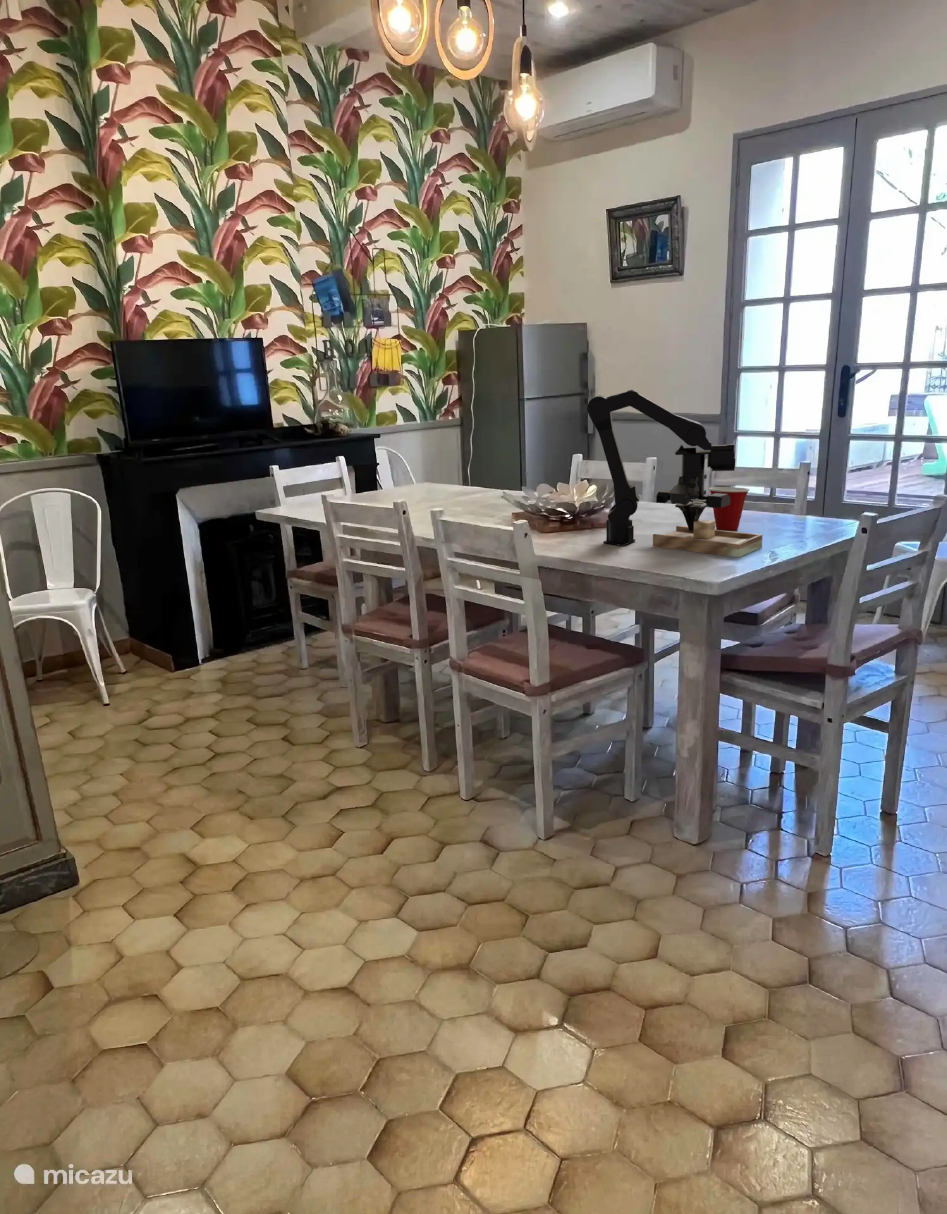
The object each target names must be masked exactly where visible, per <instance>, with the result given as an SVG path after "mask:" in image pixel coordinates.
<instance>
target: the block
mask: <svg viewBox="0 0 947 1214" xmlns="http://www.w3.org/2000/svg"><path fill="white" fill-rule="evenodd" d="M715 530H716V524H715V520H710V519H699V520H698V521H695V522H694V535H693V537H697V538H706V539H708V538H710V537H713V536H715Z"/></svg>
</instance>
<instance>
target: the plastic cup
mask: <svg viewBox="0 0 947 1214" xmlns="http://www.w3.org/2000/svg"><path fill="white" fill-rule="evenodd" d="M708 490H709V492H710V495H711V494H715V493H721V494H728V495H729V497H730V505H727V506H725V507H722V508H713V507H712V508H713V509H712V510H713V518H714V521H715V530H723V531H732V532H738V529H739V526H740V523H741V517H742V514H743V508H744V507H745V506H744V504H745V501H746V498H747V494H748V492H749V491H750V488H745V487H735V486H728V487H727V486H715V487H712V486H711V487H708Z"/></svg>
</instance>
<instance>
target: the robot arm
mask: <svg viewBox="0 0 947 1214" xmlns="http://www.w3.org/2000/svg"><path fill="white" fill-rule="evenodd" d="M627 407H631V408H632V409H634V410H636V411H637V412H640V413H642V414H644V415H645V416H647V417H648V418H650V419H652V420H654V421H656V422H658V423H659V424H661V425H663V426H665V427H666V428H668V429H669V430H670V431H671V432H672V433H674V434H675V435H676V436H677V437H678V438H679V439H680V440H681V441H683V442H684V443H685V444H686V445H688V446H690V447H685V446H684V445H683V444H680V445H679V447H678V448H677V449H676V450H675V451H674V455H675V456H681V475H680V476H678V481H677V482H678V483H677V484H675V485H674V486H673V487H672V488H671V489H663V490H660V491H657V493H656V495H655V503H656V504H657V503H659V504H666V503H668V502H669V501H670V503H671V504H672V505H674V507H675V508H678V509H679V510H680V511H681V513H682V515H683V516H684V519H685V522H686V525H687V526H686V527H688V528H689V531H693V530H694V522H695V521H698V520H700V518H701V516H702V513H703V512H704V510H705V509H706V508H722V507H725V506H727V505H730V497H729V495H728V494H721V493H715V494H711V493H710V494H709V495H706V494H707V490H706V489H705V480H707V479H708V478H707V474H706V473H705V465H706V466H707V468H710V469H711V472H735V469H736V457H735V453H736V452H735V445H734V443H727V444H712V441H711V440H709V439H708V437H707V432H706V431H707V430H706V428H705V427H704V425H703V424H702V423H701V422H699V421H696V420H692V419H690V418H686V417H684V416H681V415H677V414H675V413H674V412H672V411H671V410H668V409H666V408H665V407H663V406H661V405H660V404H658V403H656V402H654V401H653V400H651V399H649V398H648V397H646V396H644V395H642V394H640V393H639V392H638V391H637V390H635V389H628V390H627V391H624V392H620V393H617V394H613V395H610V396H604V395H600V394H599V395H595V396H594V397H592V398H591V399H590V400H589V401H588V403H587V407H586V410H587V411H586V412H587V414H588V416H589V418H590V420H591V422H592V424H593V426H594V427H595V429H596V431H597V433H598V435H599V437H600V439H599V440H600V442H601V446H602V449H603V452H604V456H605V458H606V463H607V466H608V470H609V472H610V476H611V480H612V483H613V484H612V485H613V497H614V505H613V506H611V507H610V508H609V510H608V513H607V519H606V532H605V533H606V539H605V540H603V541H602V543H603V544H607V545H615V546H627V545H628V544H631V543H634V542H636V539H634V532H635V531H634V530H635V529H634V525H633V519H630V517H631V516H633V515H634V514H636V512H637V510H638V504H639V502H640V498H641V497H640V495H639V493H638V491H637V483H632V484H631V483H630V481H629V479H628V477H627V474H626V471H625V466H624V462H623V459H622V456H621V452H620V450H619V449H620V448H619V446H618V441H617V438H616V435H615V431H614V426H613V414H612V412H615V411H618V410H621V409H626V408H627ZM696 447H699V448H700V449H701V450H697V448H696ZM706 455H707V457H706Z"/></svg>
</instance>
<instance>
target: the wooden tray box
mask: <svg viewBox="0 0 947 1214" xmlns="http://www.w3.org/2000/svg"><path fill="white" fill-rule="evenodd" d="M675 528H676V529H675V530H674V531H672V532H668V533H665V534H657V533H653V534H652V547H655V548H663V549H670V550H671V549H672V550H680V551H687V552H694V553H701V554H711V555H718V556H726V557H733V558H734V557H735V558H741V557H743V556H745V555H748V554H750V553H751V552H754V551H757V550H758V549H759V550H760V549H761V548H763V534H758V533H751V532H750V533H748V532H740V531H723V530H717V529H715V536H713V537H710V538H708V539H706V538H697V537H693V535H694V530H693V531H689V528H688V526H683V525H676V527H675Z"/></svg>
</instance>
